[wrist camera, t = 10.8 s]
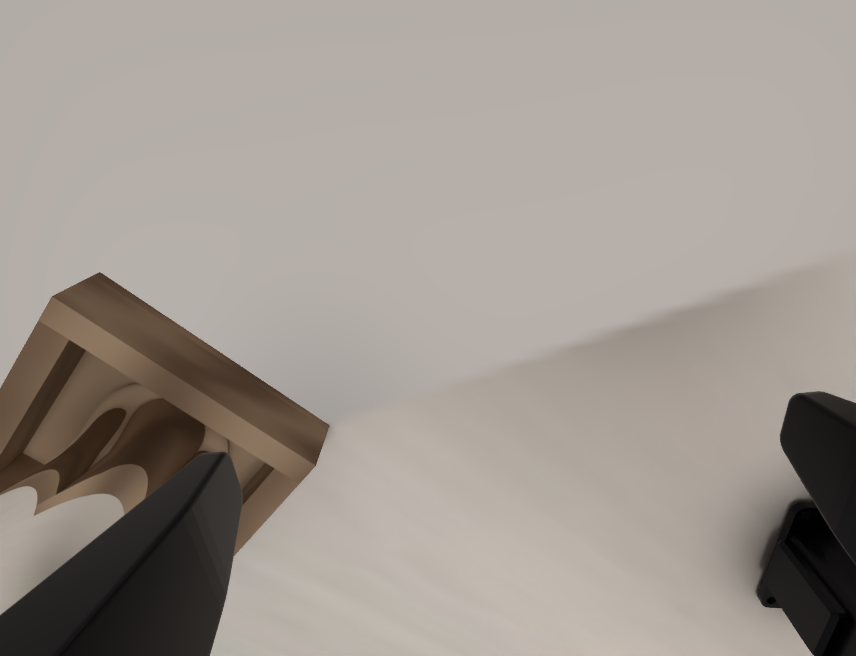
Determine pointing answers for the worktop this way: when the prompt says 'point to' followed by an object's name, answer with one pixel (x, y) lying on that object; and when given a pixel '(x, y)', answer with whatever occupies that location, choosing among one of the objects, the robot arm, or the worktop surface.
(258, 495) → the empty pocket
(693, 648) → the worktop surface
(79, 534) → the beer glass
